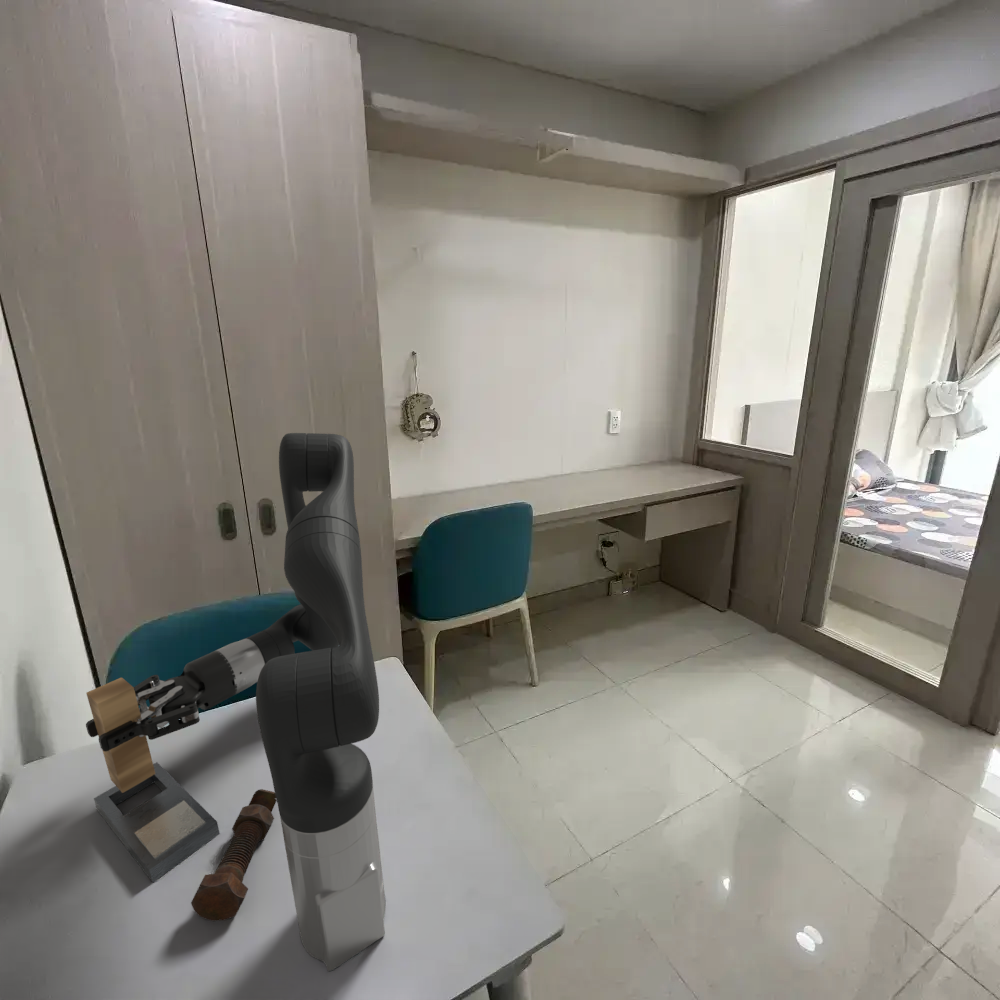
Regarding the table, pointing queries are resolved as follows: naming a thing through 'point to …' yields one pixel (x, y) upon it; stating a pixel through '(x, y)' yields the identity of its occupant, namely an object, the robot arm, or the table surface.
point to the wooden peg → (109, 712)
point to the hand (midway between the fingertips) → (95, 737)
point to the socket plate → (159, 823)
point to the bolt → (235, 861)
